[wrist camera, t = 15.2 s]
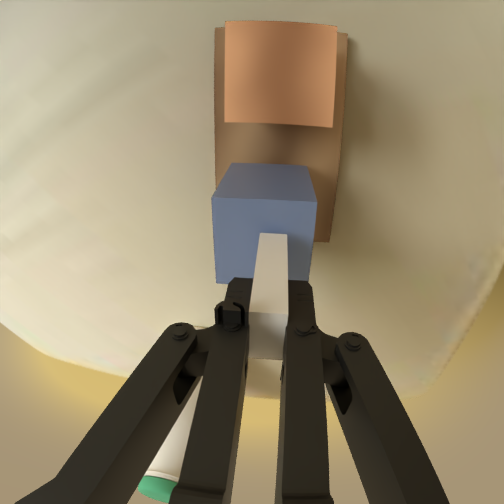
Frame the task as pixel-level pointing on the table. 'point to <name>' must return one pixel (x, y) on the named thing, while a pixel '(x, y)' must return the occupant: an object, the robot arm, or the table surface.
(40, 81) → the table surface
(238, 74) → the organizer
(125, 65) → the table surface
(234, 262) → the slate blue cube
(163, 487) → the milk bottle
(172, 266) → the table surface
